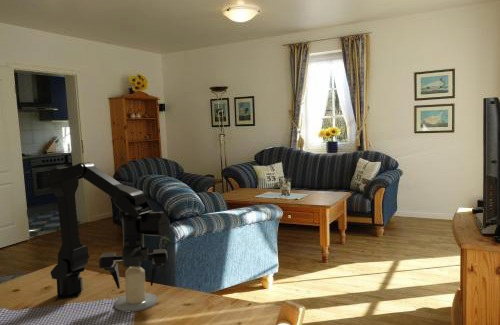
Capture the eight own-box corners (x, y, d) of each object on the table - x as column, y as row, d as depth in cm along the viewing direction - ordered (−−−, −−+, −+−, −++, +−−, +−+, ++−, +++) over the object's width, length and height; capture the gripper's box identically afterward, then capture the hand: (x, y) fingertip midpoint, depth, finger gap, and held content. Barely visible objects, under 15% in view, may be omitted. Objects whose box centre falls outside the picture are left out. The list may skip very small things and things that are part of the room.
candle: (139, 304, 115) (139, 270, 114) (122, 303, 116) (121, 269, 115) (148, 297, 120) (147, 264, 120) (131, 296, 121) (130, 263, 121)
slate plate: (111, 313, 111) (111, 311, 111) (117, 297, 123) (117, 294, 123) (156, 309, 113) (156, 306, 113) (157, 293, 125) (157, 291, 125)
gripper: (94, 243, 107) (96, 300, 108) (166, 238, 111) (167, 294, 112) (101, 233, 118) (103, 286, 119) (166, 229, 122) (168, 280, 123)
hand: (135, 287), depth 118 cm, fingers open, 9 cm apart
